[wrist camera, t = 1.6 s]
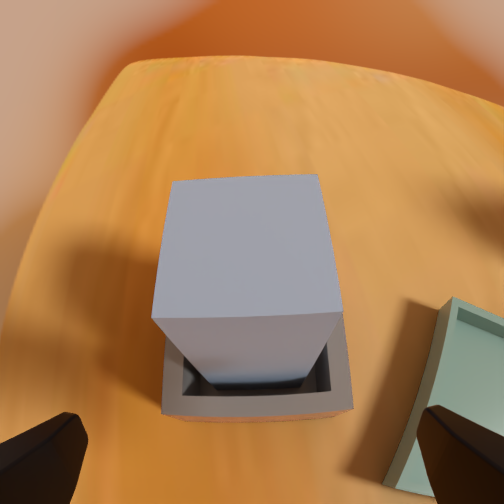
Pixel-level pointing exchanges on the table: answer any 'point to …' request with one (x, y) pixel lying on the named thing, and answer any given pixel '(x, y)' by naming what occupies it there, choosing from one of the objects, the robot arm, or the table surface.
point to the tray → (455, 384)
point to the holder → (260, 401)
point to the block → (248, 279)
